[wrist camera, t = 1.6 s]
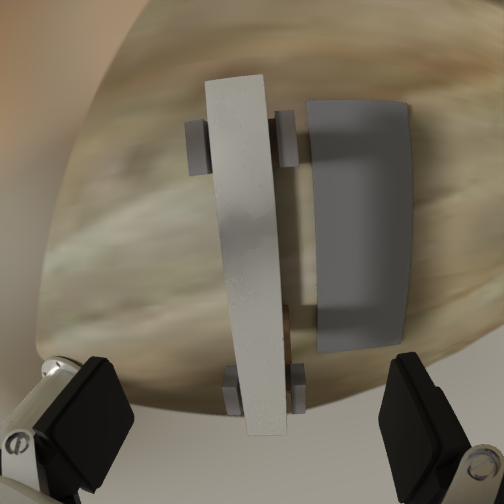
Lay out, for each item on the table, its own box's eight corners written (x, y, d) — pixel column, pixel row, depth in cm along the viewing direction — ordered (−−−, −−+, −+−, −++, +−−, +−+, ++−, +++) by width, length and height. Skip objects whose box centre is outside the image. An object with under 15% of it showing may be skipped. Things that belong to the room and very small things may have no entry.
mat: (398, 341, 31) (400, 343, 31) (316, 350, 32) (317, 353, 32) (404, 104, 24) (406, 103, 24) (305, 101, 25) (306, 100, 25)
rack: (297, 329, 32) (305, 413, 20) (243, 332, 32) (227, 414, 20) (286, 133, 26) (294, 110, 14) (223, 139, 27) (184, 122, 15)
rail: (286, 409, 23) (286, 435, 20) (251, 410, 23) (248, 435, 20) (265, 88, 16) (262, 74, 13) (215, 93, 17) (204, 81, 14)
